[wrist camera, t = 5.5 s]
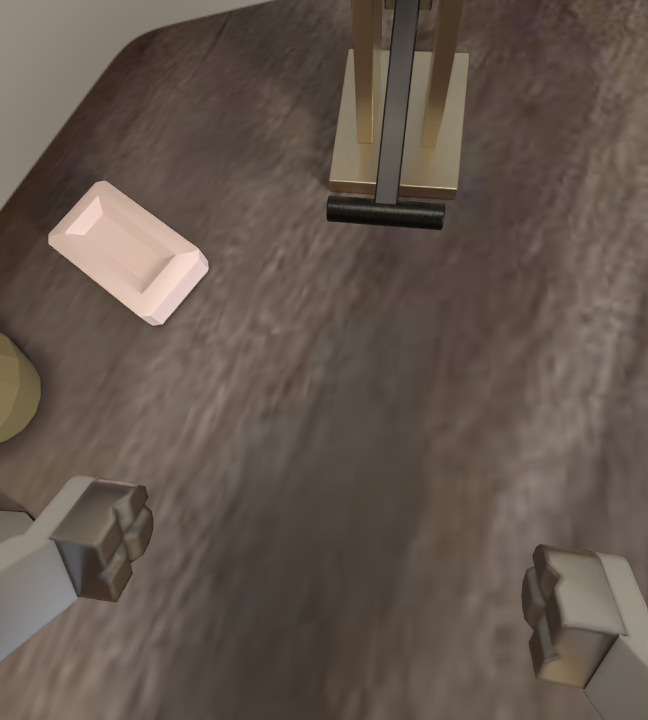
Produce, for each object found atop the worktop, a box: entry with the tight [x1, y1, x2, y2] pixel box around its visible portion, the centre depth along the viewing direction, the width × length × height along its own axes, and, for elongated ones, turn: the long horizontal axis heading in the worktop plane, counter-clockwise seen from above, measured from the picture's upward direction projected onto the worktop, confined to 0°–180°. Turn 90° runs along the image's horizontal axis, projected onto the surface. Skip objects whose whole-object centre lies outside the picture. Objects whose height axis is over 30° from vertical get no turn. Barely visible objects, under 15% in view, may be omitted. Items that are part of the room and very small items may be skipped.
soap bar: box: [48, 181, 208, 326], centre depth 31 cm, size 5×9×2 cm, turn 52°
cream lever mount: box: [329, 0, 469, 200], centre depth 27 cm, size 10×8×13 cm
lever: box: [326, 0, 445, 230], centre depth 23 cm, size 13×6×2 cm, turn 172°
